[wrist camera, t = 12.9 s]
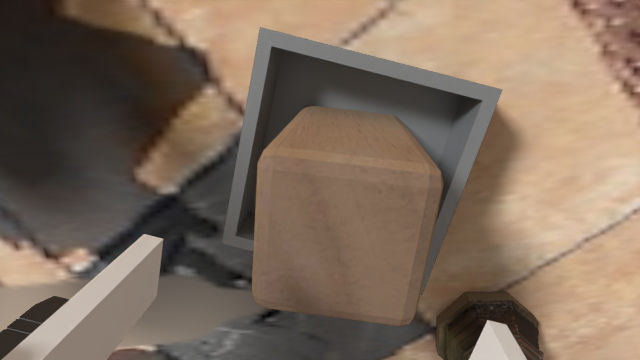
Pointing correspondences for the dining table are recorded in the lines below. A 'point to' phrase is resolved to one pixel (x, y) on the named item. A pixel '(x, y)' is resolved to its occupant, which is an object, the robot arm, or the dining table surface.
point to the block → (344, 217)
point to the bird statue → (471, 317)
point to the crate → (361, 95)
